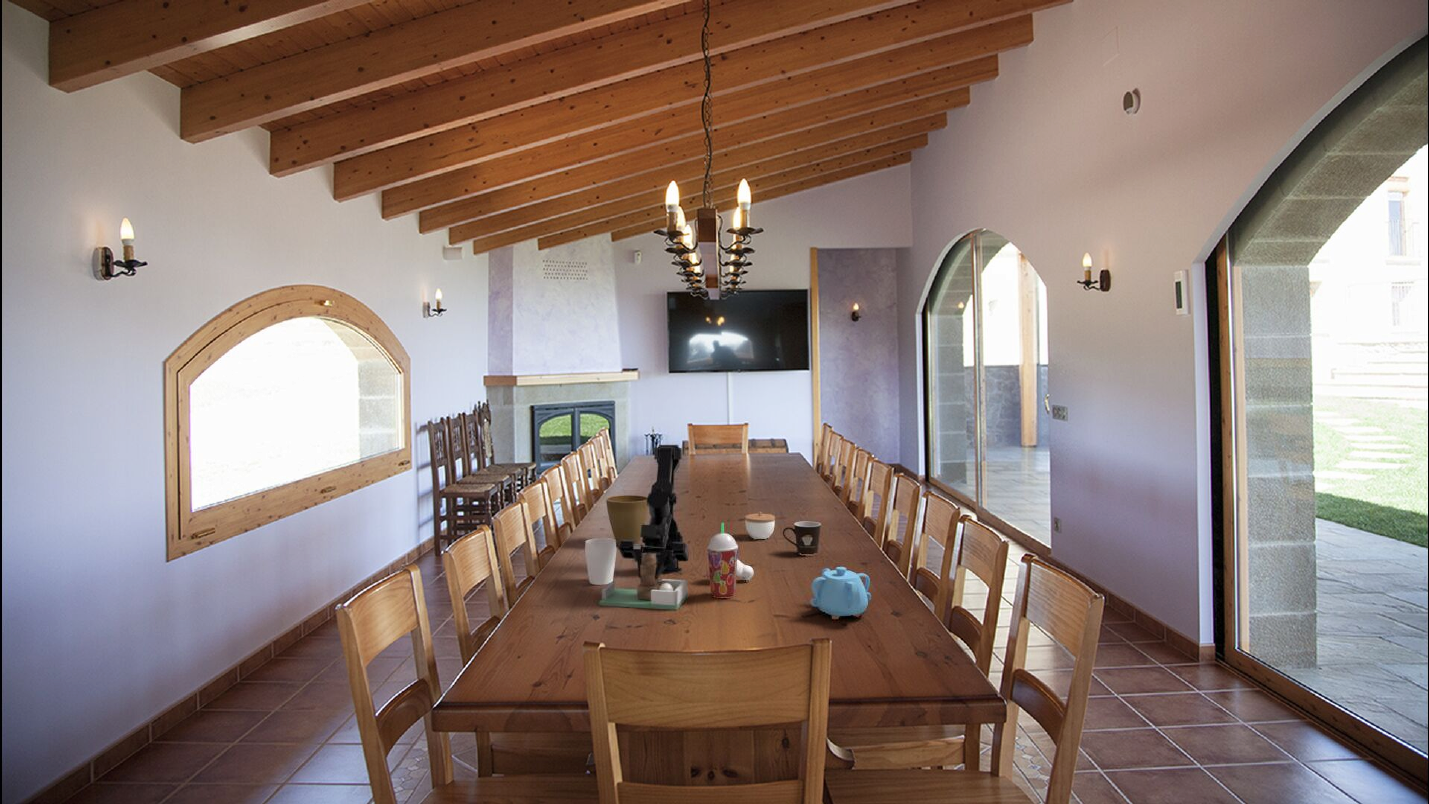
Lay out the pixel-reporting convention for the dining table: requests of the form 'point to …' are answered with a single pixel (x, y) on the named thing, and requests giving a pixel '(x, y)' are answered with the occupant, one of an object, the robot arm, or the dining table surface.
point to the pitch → (658, 599)
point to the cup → (600, 560)
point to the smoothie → (722, 564)
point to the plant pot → (627, 516)
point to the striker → (648, 577)
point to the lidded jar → (760, 525)
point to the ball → (666, 587)
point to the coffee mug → (806, 536)
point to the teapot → (841, 592)
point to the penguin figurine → (744, 571)
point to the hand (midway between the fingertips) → (647, 578)
